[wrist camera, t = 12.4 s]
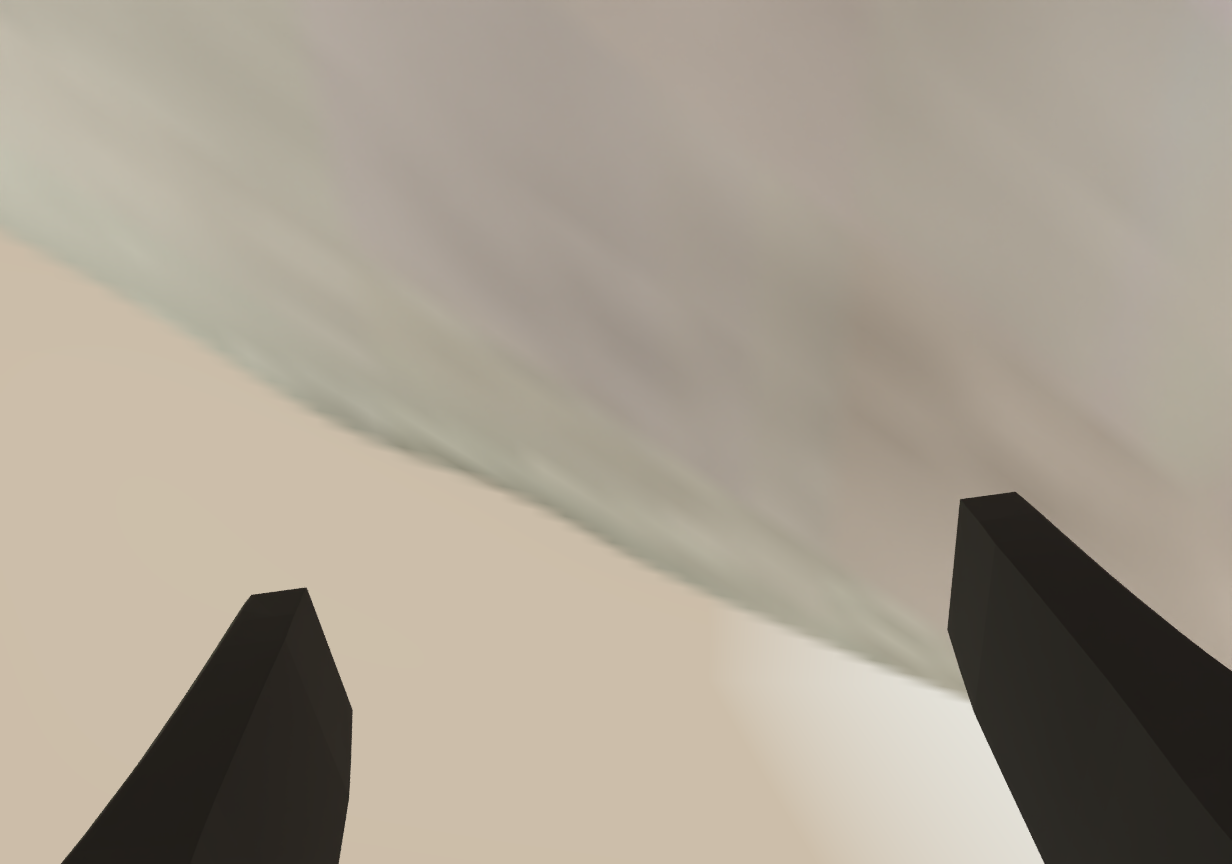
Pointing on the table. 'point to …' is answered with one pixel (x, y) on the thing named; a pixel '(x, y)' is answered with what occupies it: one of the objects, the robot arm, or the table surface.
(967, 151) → the table surface
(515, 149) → the table surface
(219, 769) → the robot arm
